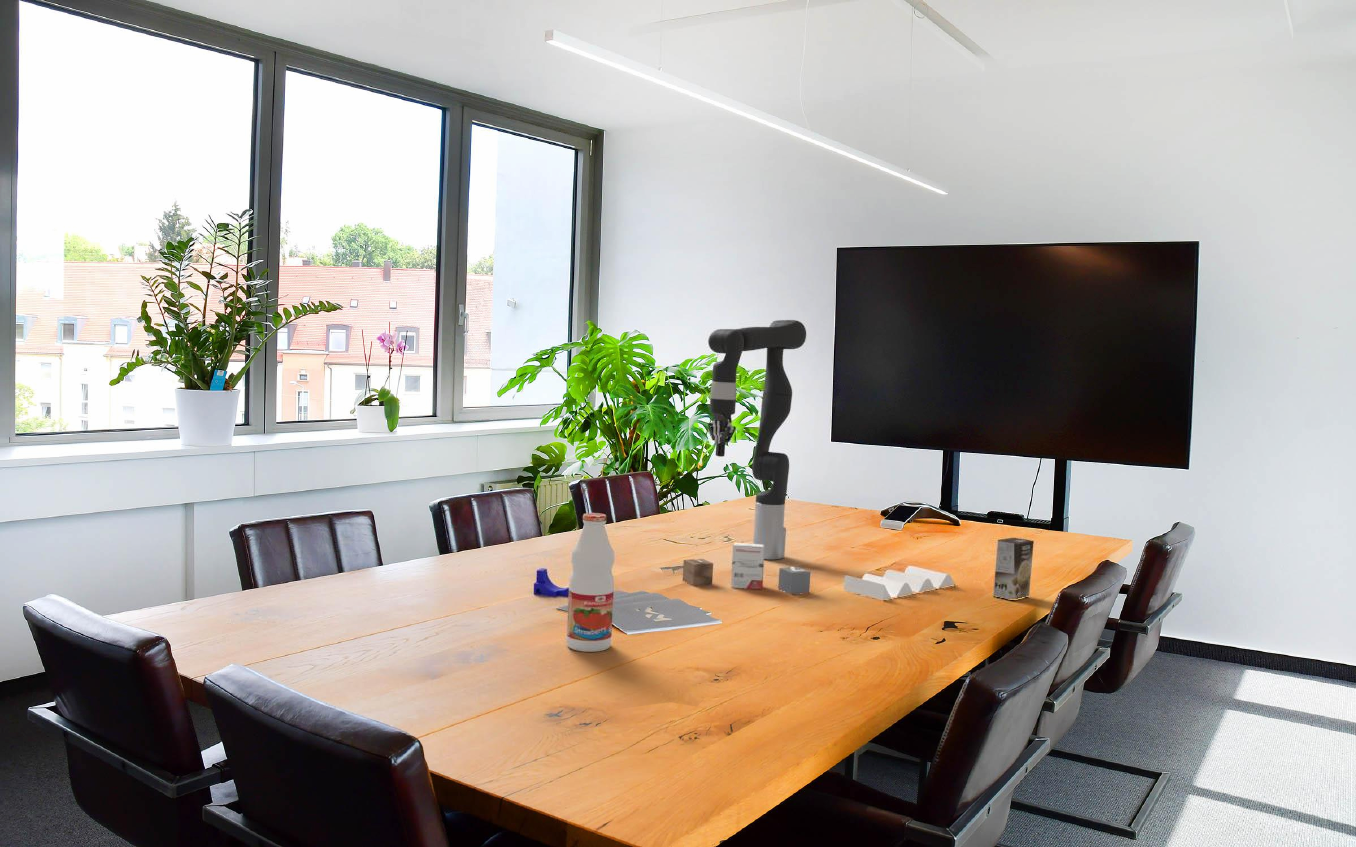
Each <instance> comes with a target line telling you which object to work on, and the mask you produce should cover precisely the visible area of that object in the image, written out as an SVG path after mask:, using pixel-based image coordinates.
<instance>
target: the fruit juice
mask: <svg viewBox="0 0 1356 847" xmlns="http://www.w3.org/2000/svg"><path fill="white" fill-rule="evenodd" d="M582 522H583V528H582V530H581V532H580V535H579V537H578V540H577V542H576V544H575V545H574V546H573V548H572V550H571V554H570V555H571V556H570V562H571V565H572V566H571V567H572V572H571V574H570V577H569V584H568V587H569V597H567V600H568V601H567V620H566V621H567V623H566V626H567V627H566V645H567V647H568V648H570V649H572V650H574V651H577V652H585V653H594V652H595V653H596V652H602V651H605V650H608V649H609V648H610V647H611V644H612V636H613V635H612V632H613V610H614V591H615V580H614V575H613V573H612V572H613V571H612V570H613V566H614V564H615V551H614V549H613V546H612V545H611V543H610V540H609V536H608V533H607V529H606V525H605V524H606V523H607V515H606V514H604V513H599V512H587V513H583V515H582Z"/></svg>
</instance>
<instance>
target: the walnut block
mask: <svg viewBox="0 0 1356 847" xmlns="http://www.w3.org/2000/svg"><path fill="white" fill-rule="evenodd" d="M682 564H683V566H682V567H683V568H682V582H684V581H685V582H684V583H686V582H687V583H686V584H688V585H691V586H692V587H697V586H698V585H700V586H710V585H711V586H712V585H713V579H714V578H713V573H714V563H713V562H712V561H708V560H706V559H704V558H692V559H690V558H689V559H683V563H682Z"/></svg>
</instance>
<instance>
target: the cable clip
mask: <svg viewBox="0 0 1356 847" xmlns="http://www.w3.org/2000/svg"><path fill="white" fill-rule="evenodd" d="M535 581H536V582H533V595H537V596H545V597H546V596H547V597H552V598H553V597H554V598H556V597H558V596H559V597H567V598H569V586H568V587H559V586H558V585H556V584H555V583H553V582H552V580H550V577H549V575H548V569H547V568H545V567H544V568H543V567H541V568H539V569H537V570H536V580H535Z"/></svg>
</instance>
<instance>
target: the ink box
mask: <svg viewBox="0 0 1356 847" xmlns="http://www.w3.org/2000/svg"><path fill="white" fill-rule="evenodd" d="M731 561H732V562H731V579H730V580H731V584H730V588H731V589H743V588H744V589H745V590H758V589H760V590H759V591H761V590H763V586H764V566H765V564H764V562H765V559H764V545H762V544H753V543H746V542H745V543H744V542H733V545H732V559H731Z"/></svg>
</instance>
